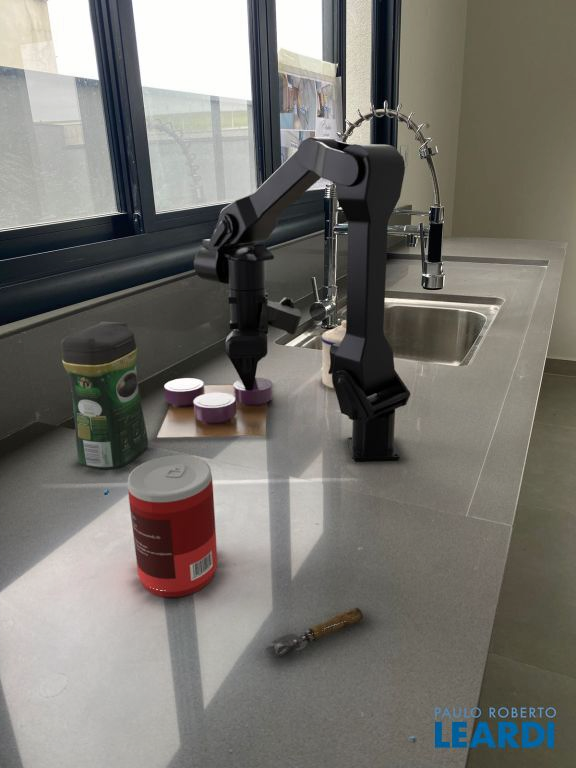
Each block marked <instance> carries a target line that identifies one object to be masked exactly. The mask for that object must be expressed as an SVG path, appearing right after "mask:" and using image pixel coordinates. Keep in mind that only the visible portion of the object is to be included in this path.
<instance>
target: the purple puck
mask: <svg viewBox="0 0 576 768" xmlns="http://www.w3.org/2000/svg"><path fill="white" fill-rule="evenodd" d="M232 385H233V394H234V397H235V398H236V401H237V402H239V403H241V404H243V405H247V406H257V405H262V404H264V403H266V402H267V403H268V402H270V401H271V400H272V399H273V398H274V383H273V382H272V380H271V379H267V378H264V377H255V382H254V388H253V390H252V391H247V390H246V389H245V387H244V385H243V383H242V381H241V379H238V380H236V381H234V382H233V384H232Z"/></svg>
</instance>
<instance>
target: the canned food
mask: <svg viewBox="0 0 576 768" xmlns="http://www.w3.org/2000/svg"><path fill="white" fill-rule="evenodd" d="M127 491H128V503H129V511H130V518H131V526H132V535H133V536H132V537H133V544H134V551H135V558H136V567H137V575H138V578H139V580H140V583H141V585H142V586H143V587H144V588H145V590H146V591H148V592H149V593H151V594H152V595H154V596H157V597H161V598H162V597H163V598H179V597H185V596H188V595H192V594H194V593H197V591H200V590H202V589H203V588H204V587H206V586H207V585H208V584H209V583H210V582H211V580H212V579H213V578H214V576H215V573H216V571H217V566H218V549H217V533H216V517H215V516H216V515H215V499H214V483H213V475H212V468H211V466H210V465H209V463H207V462H206V461H205V460H204V459H201V458H199V457H195V456H191V455H182V454H180V455H179V454H177V455H166V456H161V457H156V458H153V459H150V460H148V461H145V462H143V463H141V464H140V465H138V466H136V467H135V468H134V469H133V470H132V471H131V472H130V473H129V475H128V478H127ZM150 587H151V588H150ZM153 588H154V589H153ZM156 589H158V590H156ZM160 590H163V591H160ZM164 590H166V591H164Z"/></svg>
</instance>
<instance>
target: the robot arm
mask: <svg viewBox="0 0 576 768" xmlns="http://www.w3.org/2000/svg"><path fill="white" fill-rule="evenodd" d="M405 171H406V162H405V159H404V156H403V155H402V154H401V153H400V152H399V150H398V148H396V147H394V146H392V145H390V144H377V143H376V144H372V143H371V144H370V143H367V144H366V143H365V144H364V143H347V142H343V141H340V140H336V139H335V138H333V137H326V136H325V137H324V136H323V137H322V136H310V137H306V138H305V139H303V140H301V142H300V143H299V145H298V147H297V149H296V150H295V151H294V152H293V153H292V154H291V155H290V156H289V157H288V158H287V159H286V160H285V161H284V162H283V164H281V165H280V166H279V167H278V168H277V169H276V170H275V171H274V172H273V173H272V174H271V175H270V176H269V177H268V178H267V179H266V180H265V181H264V182H263V183H262V184H261V185H260V186H259V187H258V188H257V189H256V190H255V191H254V192H252V193H251V194H249V195H246V196H244V197H241V198H239V199H236V200H233V202H230V203H229V204H228V205H226V206H224V207H223V208H222V209H221V211H220V212H219V215H218V220H217V223H216V225H215V227H214V230H213V233H212V235H211V237H210V238H208V239H202V247H201V248H199V250H198V251H197V252H196V255H195V256H194V260H193V269H194V271H195V274H196V275H197V276H198V277H199V278H200V279H202V280H205V281H209V282H215V283H219V284H223V285H225V284H226V285H228V291H229V292H228V293H229V295H228V304H229V312H230V315H229V316H230V320H229V330H232V331H231V332H229V334H228V335H227V336H226V339H225V342H224V343H225V355H227V358H228V359H229V360H230V362H231V363H232V366H233V368H234V369H235V371H236V373H237V375H238V377H239V380H241V381H242V383H243V385H244V387H245V389H246V390H247V391H252V390H253V388H254V382H255V378H256V375H257V368H258V365H259V362H260V361H261V360H262V359H264V358H265V357H266V356H267V355H268V352H269V351H268V349H269V348H268V345H269V343H268V333H269V328H270V327H271V328H275V329H278V330H281V331H283V332H284V331H285V332H286V333H287V334H289V335H296V334H297V331H298V329H299V325H300V322H301V320H302V317H303V316H302V311H301V310H299V308H295V304H294V299H292V298H289V297H286V296H284V297H283V298H282V299H281V300H280V301H273V300H269V293H268V292H267V290H266V263H265V262H266V261H272V260H274V259H275V255H274V254H273V253H272V251H270V250H269V249H268V248H267V247H266V245H265V244H264V243H263V242H265V241H266V240H267V239H269V237H270V235H271V234H272V233H273V231H274V230H275V229H277V226H278V222H279V217H280V216H281V214H282V213H283V212H284V211H285V210H287V209H288V208H289V207H290V206H291V205H292V204H294V202H296V200H298V199H299V198H300V197H301V196H302V195H303V194H304V193H306V192H307V191H308V190H309V189H310V188H311V187H312V186H314V185H315V184H316V183H317V182H318V181H319V180H321V179H324V180H327V181H329V182H332V183H334V185H335V193H336V194H335V195H336V199H337V202H338V204H339V206H340V208H341V210H342V213H343V215H344V217H345V218H346V220H347V263H346V310H345V311H346V314H345V315H346V316H345V320H346V333H345V336H344V338H343V340H342V342H339V343H336V344H332V345H331V346H330V351H329V353H330V369H329V372H328V373H329V374H332V383H333V386H334V388H333V389H334V390H335V391H334V392H335V394H336V398H337V402H338V406H339V410H340V413H341V415H342V414H343V415H345V416H347V417H348V419H349V420H351V421H352V428H351V429H352V432H351V433H352V435H351V436H350V437H349V436H348V437H347V438H346V441H347V445H348V449H349V450H348V451H349V453H350V457H351V459H352V460H353V461H391V460H393V461H395V460H397V461H398V460H399V459H400V457H401V456H400V452H399V450H398V448H397V445H396V443H395V423H396V421H395V420H396V410H397V409H398V408H401V407H404V406H406V405H407V404H408V401H409V399H410V396H411V391H410V390H409V389H408V387H407V386H406V384H405V382H404V381H403V380H402V378H401V377H400V375H399V374H398V372H397V371H396V368H395V359H394V351H393V348H392V347H391V344H390V343H389V341H388V339H387V337H386V334H385V329H384V327H385V303H386V280H387V254H388V252H387V251H388V231H389V229H388V228H389V220H390V218H391V216H392V214H393V213H394V210H395V208H396V206H397V204H398V203H399V200H400V198H401V195H402V189H403V184H404V178H405ZM259 243H260V244H259Z"/></svg>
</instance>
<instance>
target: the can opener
mask: <svg viewBox="0 0 576 768" xmlns="http://www.w3.org/2000/svg"><path fill="white" fill-rule="evenodd" d="M356 616H357V617H356ZM363 616H364V615H363V612H362V610H361V609H360V608H359V607H354V608H351V609H348V610H346V611H344V612H341V613H339V614H337V615H335V616H333V617H332V618H330V619H328V620H326V621H327V622H326V621H325V622H323V623H320V624H318V625H315V626H312V627H313V628H312V627H310V628H308V630H306V631H305V632H304V634H300V635H299V634H295V633H289V634H284V635H283V636H280V637H278V638H276V639H274V640H273V641H271V642H270V644H268V646H267V647H266V649H265V651H268V650H270V649H272V648H273V649H274V653H275V654H276V655H277V656H278V657H282V656H283V655H285V654H286V653H287V652H289V650H290V649H291V648H293V647H296V646H298V645H299V647H297V648H294V651H302V650H304V649H306V648H307V646H308V643H311V642H315V641H317V640H319V639H321V638H323V637H325V636H327V635H330V634H332V633H334V632H337V631H340V630H343V629H345V628H347V627H350V626H352V625H354V624H356V623H357V622H359V621H361V620H362V619H363V618H364V617H363ZM354 617H355V618H354ZM352 618H353V619H352ZM344 621H346V622H344ZM341 622H343V623H341ZM338 623H340V624H338ZM334 624H338V625H335V626H331V625H334ZM328 626H331V627H329V628H326V627H328ZM324 628H326V629H325V630H324ZM322 630H323V631H322ZM317 632H318V633H317ZM312 633H313V634H312ZM315 633H316V634H315ZM308 634H311V635H308ZM277 646H278V647H277ZM282 646H283V647H282ZM281 648H282V649H281ZM279 649H280V650H279Z"/></svg>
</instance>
